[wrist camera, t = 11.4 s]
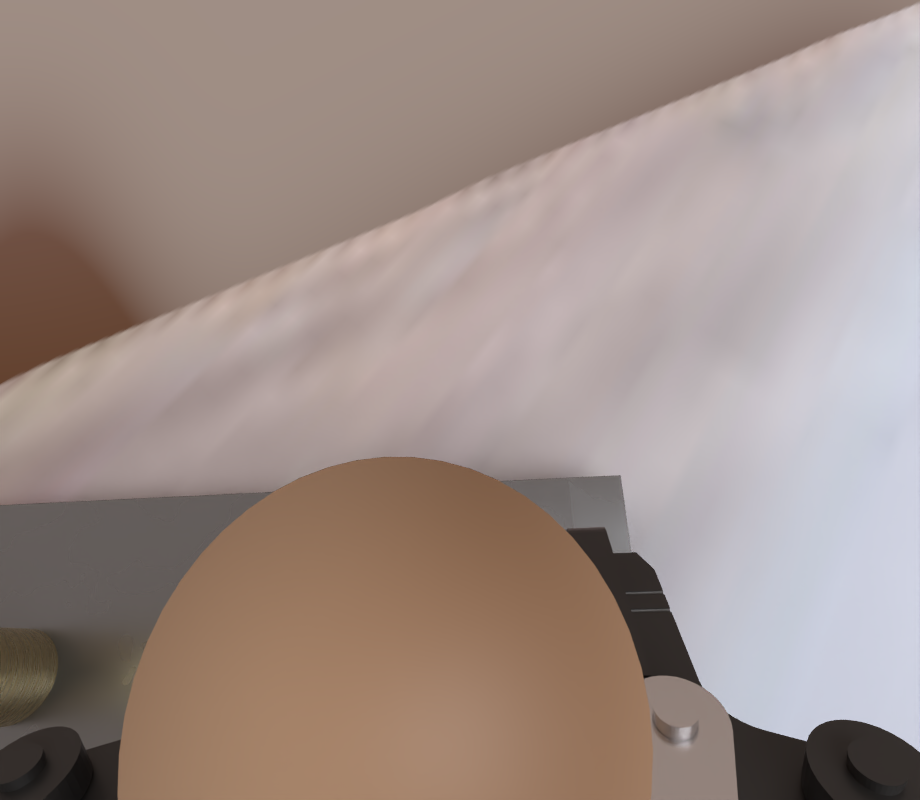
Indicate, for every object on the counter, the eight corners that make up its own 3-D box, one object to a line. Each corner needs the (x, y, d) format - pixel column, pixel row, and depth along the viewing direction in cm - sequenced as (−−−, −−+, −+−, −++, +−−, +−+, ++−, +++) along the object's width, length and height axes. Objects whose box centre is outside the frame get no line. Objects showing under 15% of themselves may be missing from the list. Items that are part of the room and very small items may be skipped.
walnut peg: (403, 765, 15) (54, 1073, 4) (406, 590, 17) (173, 469, 6) (573, 765, 14) (704, 1107, 4) (556, 584, 16) (612, 444, 5)
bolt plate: (-97, 864, 20) (-1008, 1175, 8) (8, 523, 25) (-463, 407, 13) (657, 874, 18) (928, 1331, 6) (609, 496, 22) (700, 326, 11)
